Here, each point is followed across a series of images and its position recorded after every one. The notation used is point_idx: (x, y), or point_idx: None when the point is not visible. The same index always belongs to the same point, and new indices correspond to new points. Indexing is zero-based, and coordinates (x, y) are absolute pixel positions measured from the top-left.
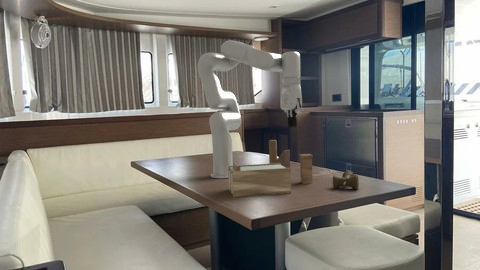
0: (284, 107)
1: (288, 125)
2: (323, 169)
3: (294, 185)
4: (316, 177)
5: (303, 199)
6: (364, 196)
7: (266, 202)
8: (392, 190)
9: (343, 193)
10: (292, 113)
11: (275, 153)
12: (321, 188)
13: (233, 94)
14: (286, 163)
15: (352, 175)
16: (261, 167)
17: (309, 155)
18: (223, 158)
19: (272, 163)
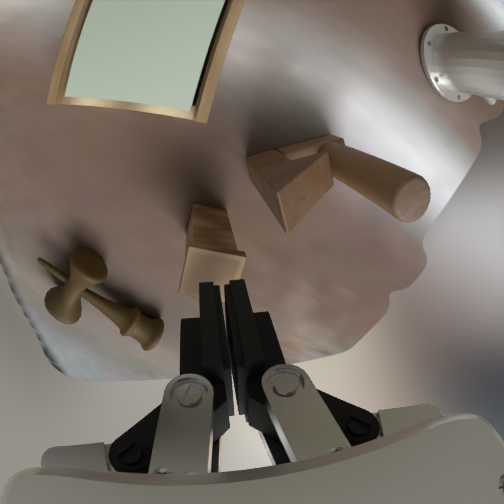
0: (351, 492)
1: (231, 284)
2: (343, 347)
3: (185, 163)
4: (263, 288)
5: (15, 111)
6: (5, 263)
7: (38, 10)
8: (45, 339)
9: (34, 239)
10: (163, 433)
11: (354, 179)
12: (103, 219)
13: None
14: (263, 184)
15: (121, 334)
16: (163, 4)
17: (181, 279)
18: (475, 42)
19: (216, 80)
